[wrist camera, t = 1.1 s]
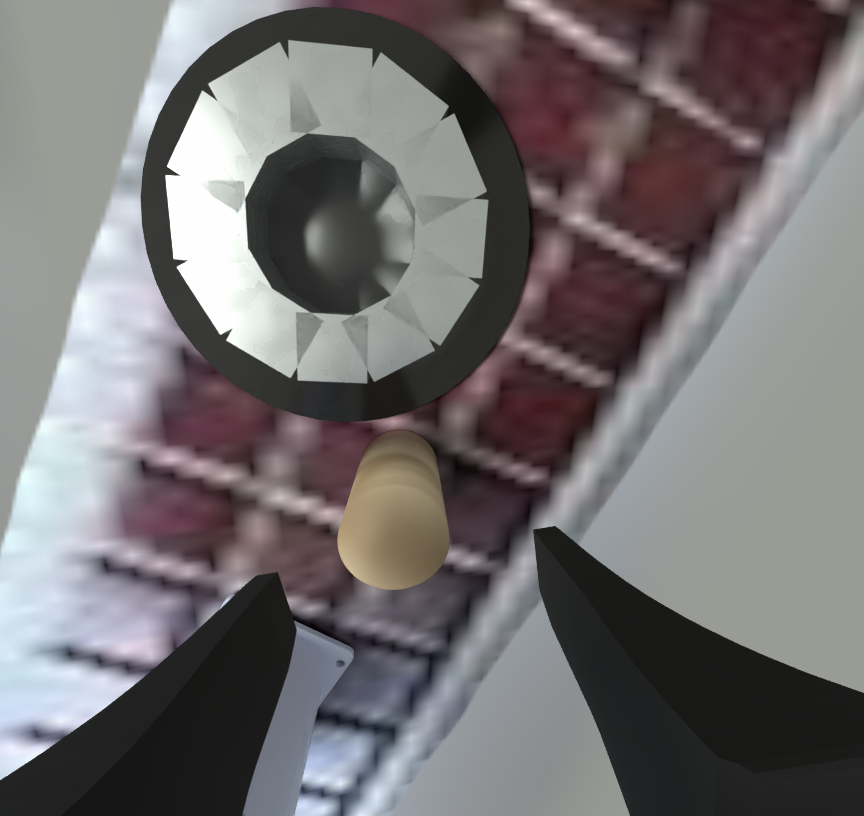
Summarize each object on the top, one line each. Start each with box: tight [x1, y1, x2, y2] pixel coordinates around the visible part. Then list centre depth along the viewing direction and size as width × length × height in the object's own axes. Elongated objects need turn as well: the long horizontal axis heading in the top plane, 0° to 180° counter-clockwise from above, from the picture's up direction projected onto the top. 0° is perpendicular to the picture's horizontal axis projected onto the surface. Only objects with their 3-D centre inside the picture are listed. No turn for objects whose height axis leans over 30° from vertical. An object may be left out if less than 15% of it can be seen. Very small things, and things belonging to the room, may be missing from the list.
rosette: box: [141, 7, 530, 422], centre depth 17 cm, size 17×17×3 cm
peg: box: [338, 430, 450, 590], centre depth 18 cm, size 4×4×7 cm
